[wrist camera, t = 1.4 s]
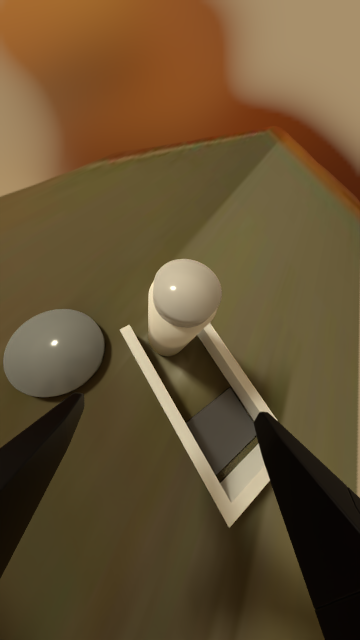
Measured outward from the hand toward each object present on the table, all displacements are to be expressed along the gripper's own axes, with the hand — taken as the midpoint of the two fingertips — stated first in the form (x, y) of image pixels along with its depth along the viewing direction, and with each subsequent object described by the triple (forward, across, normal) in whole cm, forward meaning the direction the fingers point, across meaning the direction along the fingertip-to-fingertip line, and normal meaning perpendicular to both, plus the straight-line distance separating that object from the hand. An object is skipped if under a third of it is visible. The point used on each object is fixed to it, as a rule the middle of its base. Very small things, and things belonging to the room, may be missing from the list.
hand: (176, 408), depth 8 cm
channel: (+10, -4, +8) cm, 14 cm away
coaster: (+12, +12, +7) cm, 18 cm away
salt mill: (+14, 0, +4) cm, 15 cm away
